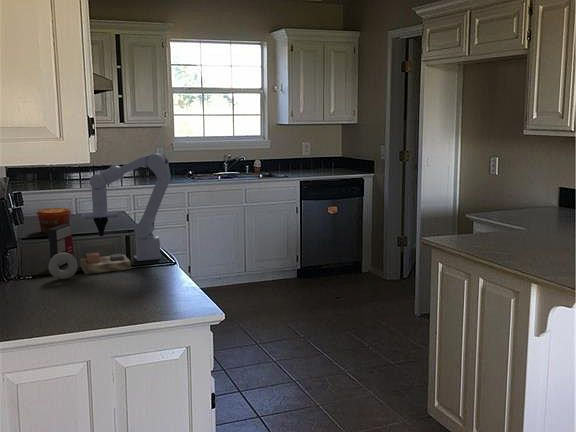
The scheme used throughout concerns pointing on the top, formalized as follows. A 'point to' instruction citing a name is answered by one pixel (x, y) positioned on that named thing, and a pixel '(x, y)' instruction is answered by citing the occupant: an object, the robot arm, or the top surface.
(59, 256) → the donut
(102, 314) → the top surface
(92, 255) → the brown cube
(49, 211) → the food container
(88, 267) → the tan flat rectangular block
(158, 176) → the robot arm
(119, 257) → the gray cube
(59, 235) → the grey and red box
